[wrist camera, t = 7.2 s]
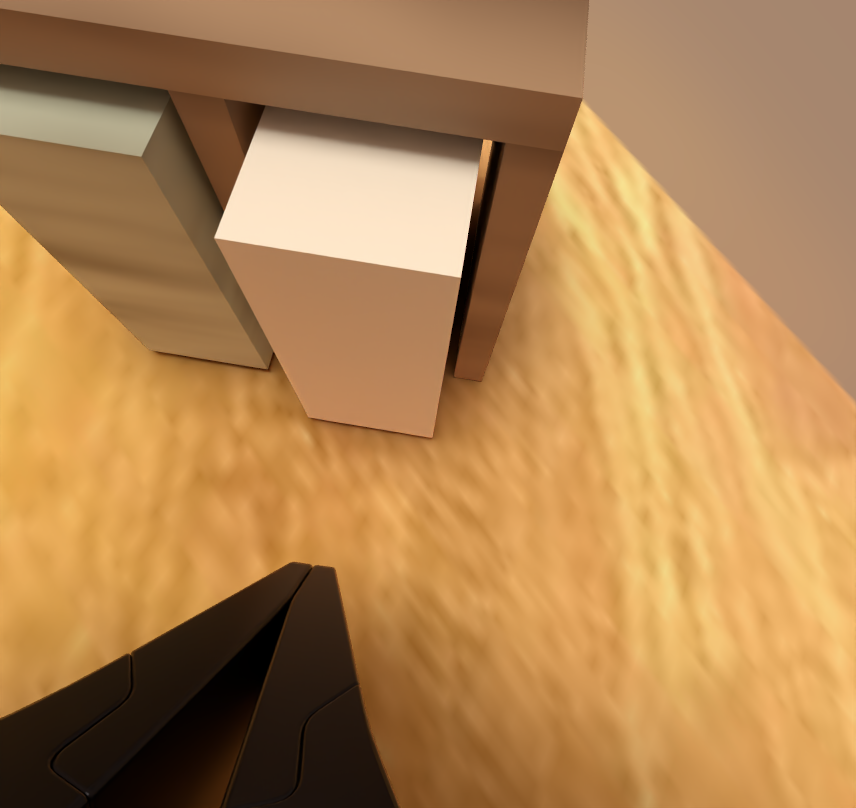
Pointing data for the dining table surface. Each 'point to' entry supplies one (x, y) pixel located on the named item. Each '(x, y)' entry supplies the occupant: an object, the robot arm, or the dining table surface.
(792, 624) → the dining table surface
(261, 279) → the white plug
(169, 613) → the dining table surface
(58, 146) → the walnut housing
